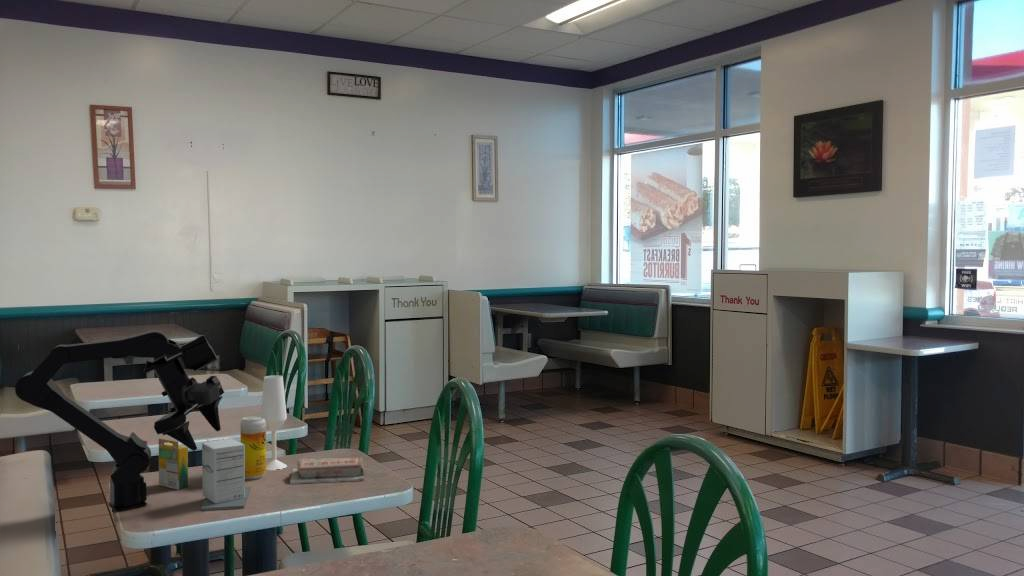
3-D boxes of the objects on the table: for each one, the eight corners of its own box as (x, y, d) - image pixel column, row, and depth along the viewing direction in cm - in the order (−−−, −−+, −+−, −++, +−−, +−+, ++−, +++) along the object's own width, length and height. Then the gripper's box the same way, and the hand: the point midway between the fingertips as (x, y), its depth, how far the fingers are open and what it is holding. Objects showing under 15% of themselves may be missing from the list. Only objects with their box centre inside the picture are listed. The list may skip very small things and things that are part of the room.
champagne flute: (285, 462, 214) (284, 374, 213) (289, 468, 208) (288, 378, 207) (259, 464, 211) (258, 375, 210) (262, 471, 205) (261, 379, 204)
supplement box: (201, 496, 182) (200, 442, 182) (233, 490, 187) (232, 437, 186) (213, 504, 177) (213, 448, 176) (245, 497, 182) (245, 443, 181)
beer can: (261, 480, 198) (261, 420, 197) (237, 479, 198) (236, 420, 197) (269, 473, 204) (269, 415, 203) (245, 473, 204) (245, 415, 203)
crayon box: (189, 487, 192) (188, 439, 191) (178, 490, 189) (177, 442, 188) (169, 482, 195) (168, 435, 195) (158, 485, 193) (157, 438, 192)
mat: (201, 510, 174) (201, 508, 174) (210, 491, 188) (210, 489, 188) (244, 508, 176) (243, 505, 176) (250, 489, 190) (250, 487, 190)
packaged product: (364, 453, 207) (364, 463, 198) (364, 471, 208) (364, 482, 198) (293, 456, 204) (289, 466, 194) (293, 474, 204) (289, 486, 195)
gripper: (175, 388, 169) (210, 451, 172) (225, 355, 186) (256, 412, 189) (137, 402, 172) (171, 464, 175) (190, 368, 189) (220, 424, 193)
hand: (207, 440), depth 183 cm, fingers open, 9 cm apart
